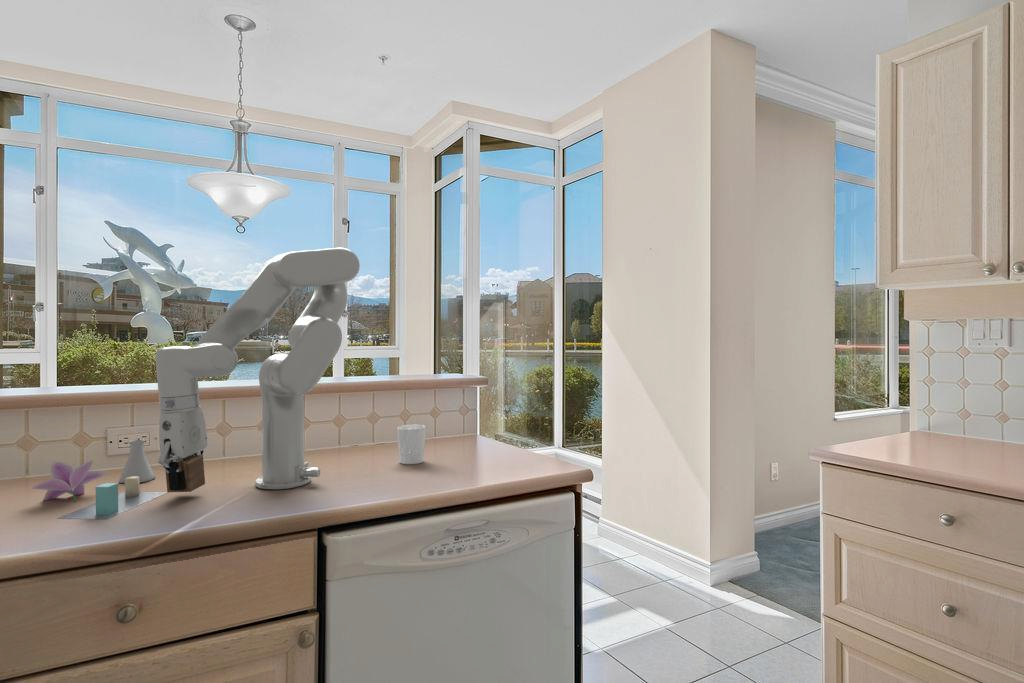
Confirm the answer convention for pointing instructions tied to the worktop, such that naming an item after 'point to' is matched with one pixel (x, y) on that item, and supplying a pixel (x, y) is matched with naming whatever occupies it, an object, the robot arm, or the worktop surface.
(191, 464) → the wooden grain cube
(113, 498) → the teal post
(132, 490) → the slate stand
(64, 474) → the lily
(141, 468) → the flask
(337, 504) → the worktop surface
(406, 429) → the white cup
